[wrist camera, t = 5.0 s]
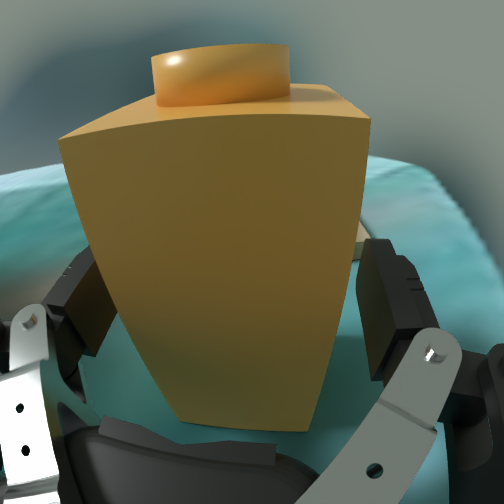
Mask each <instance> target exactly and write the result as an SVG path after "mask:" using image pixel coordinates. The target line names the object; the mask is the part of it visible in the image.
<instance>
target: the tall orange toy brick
mask: <svg viewBox="0 0 504 504" xmlns="http://www.w3.org/2000/svg"><path fill="white" fill-rule="evenodd" d="M151 59H152V67H153V78H154V86H155V94H154V95H152V96H149V97H147V98H144V99H142V100H139V101H137V102H134V103H132V104H129V105H127V106H125V107H122V108H120V109H118V110H116V111H114V112H111V113H109V114H107V115H105V116H103V117H101V118H98V119H96V120H94V121H92V122H90V123H88V124H86V125H84V126H82V127H80V128H78V129H76V130H75V131H73V132H71V133H69V134H67V135H65V136H63V137H62V138H60V139H58V145H59V149H60V153H61V157H62V160H63V164H64V168H65V172H66V175H67V179H68V182H69V186H70V189H71V192H72V196H73V199H74V202H75V205H76V208H77V211H78V214H79V217H80V220H81V223H82V226H83V229H84V231H85V234H86V237H87V240H88V242H89V245H90V248H91V250H92V253H93V255H94V258H95V260H96V263H97V265H98V268H99V270H100V273H101V275H102V277H103V280H104V282H105V284H106V287H107V289H108V291H109V294H110V296H111V298H112V300H113V302H114V304H115V307H116V309H117V311H118V313H119V315H120V317H121V319H122V321H123V323H124V325H125V327H126V329H127V331H128V333H129V335H130V337H131V339H132V341H133V343H134V345H135V347H136V349H137V351H138V352H139V354H140V356H141V358H142V360H143V362H144V363H145V365H146V367H147V369H148V371H149V372H150V374H151V376H152V378H153V379H154V381H155V383H156V384H157V386H158V388H159V389H160V391H161V393H162V394H163V396H164V398H165V399H166V401H167V402H168V404H169V406H170V407H171V409H172V410H173V412H174V413H175V415H176V416H177V418H178V420H179V421H182V422H188V423H194V424H202V425H209V426H217V427H226V428H237V429H249V430H265V431H297V432H308V429H309V426H310V423H311V420H312V417H313V414H314V411H315V408H316V405H317V401H318V398H319V395H320V392H321V388H322V385H323V381H324V378H325V375H326V371H327V368H328V364H329V360H330V357H331V353H332V349H333V345H334V341H335V337H336V333H337V329H338V325H339V321H340V317H341V313H342V308H343V304H344V299H345V295H346V290H347V285H348V281H349V276H350V271H351V265H352V260H353V255H354V249H355V244H356V238H357V232H358V226H359V219H360V213H361V206H362V199H363V192H364V184H365V176H366V167H367V158H368V148H369V136H370V124H371V118H369V117H368V116H367V115H366V114H364V113H363V112H362V111H360V110H359V109H358V108H357V107H355V106H354V105H352V104H351V103H350V102H349V101H347V100H346V99H345V98H343V97H342V96H340V95H339V94H337V93H336V92H335V91H333V90H332V89H330V88H329V87H328V86H326V85H315V84H290V62H289V46H288V45H280V44H235V45H219V46H209V47H200V48H193V49H187V50H180V51H175V52H170V53H165V54H160V55H157V56H154V57H152V58H151Z"/></svg>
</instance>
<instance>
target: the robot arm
mask: <svg viewBox="0 0 504 504" xmlns="http://www.w3.org/2000/svg"><path fill="white" fill-rule="evenodd" d="M356 296H357V301H358V306H359V311H360V317H361V322H362V327H363V333H364V339H365V345H366V351H367V357H368V363H369V370H370V377H371V381H382V380H383V385H384V391H383V392H382V394H381V395H380V397H379V398H378V400H377V401H376V403H375V404H374V406H373V407H372V409H371V410H370V412H369V413H368V415H367V416H366V418H365V419H364V420H363V422H362V423H361V425H360V426H359V427H358V429H357V430H356V432H355V433H354V434H353V436H352V437H351V438H350V440H349V441H348V442H347V443H346V445H345V446H344V447H343V449H342V450H341V451H340V452H339V454H338V455H337V456H336V457H335V459H334V460H333V461H332V462H331V464H330V465H329V466H328V467H327V468H326V469H325V471H324V472H323V473H322V474H321V475H319V474H318V473H317V472H316V471H314V470H313V469H311V468H310V467H308V466H307V465H305V464H303V463H302V462H300V461H298V460H296V459H293V458H291V457H288V456H285V455H282V454H278V453H276V445H277V444H266V443H251V442H239V441H221V442H211V443H200V444H185V445H183V444H177V443H175V442H173V441H170V440H168V439H166V438H164V437H162V436H160V435H158V434H156V433H154V432H152V431H150V430H148V429H146V428H144V427H142V426H140V425H137V424H133V423H129V422H125V421H121V420H118V419H114V418H111V417H107V416H103V419H102V422H101V420H100V419H99V417H98V416H97V414H96V412H95V410H94V407H93V404H92V400H91V396H90V392H89V389H88V385H87V381H86V376H85V372H84V368H83V364H82V362H81V361H80V358H81V356H82V354H83V355H87V356H92V357H96V355H97V352H98V350H99V348H100V346H101V344H102V342H103V340H104V338H105V336H106V334H107V332H108V330H109V328H110V326H111V324H112V322H113V320H114V318H115V316H116V314H117V312H118V311H117V309H116V307H115V304H114V302H113V300H112V298H111V296H110V294H109V291H108V289H107V287H106V284H105V282H104V280H103V277H102V275H101V273H100V270H99V268H98V265H97V263H96V260H95V258H94V255H93V253H92V250H91V248H90V245H89V246H88V247H87V248H86V249H84V250H83V251H82V252H81V253H79V254H78V255H77V256H76V257H75V258H74V259H73V261H72V262H71V263H70V265H69V268H67V269H66V270H65V271H64V273H63V276H61V277H60V278H59V279H58V281H57V282H56V283H55V285H54V286H53V288H52V289H51V290H50V292H49V293H48V295H47V296H46V297H45V299H44V300H43V302H42V303H41V304H31V305H28V306H26V307H24V308H23V309H21V310H20V311H19V312H18V313H17V314H16V315H15V317H14V319H13V320H12V321H5V322H2V321H1V320H0V504H398V503H399V502H400V500H401V499H402V497H403V496H404V494H405V492H406V491H407V489H408V488H409V486H410V485H411V483H412V481H413V480H414V478H415V476H416V475H417V473H418V471H419V469H420V468H421V466H422V464H423V462H424V461H425V459H426V457H427V455H428V453H429V451H430V449H431V447H432V445H433V443H434V441H435V439H436V436H437V430H436V429H434V427H435V424H436V422H442V423H444V431H445V439H446V449H447V460H448V474H449V504H504V343H501V344H497V345H495V346H494V347H492V349H491V350H490V351H489V353H488V354H487V355H484V354H479V353H474V352H470V351H465V350H462V349H461V347H460V345H459V343H458V341H457V340H456V339H455V338H454V337H453V336H452V335H451V334H450V333H448V332H447V331H445V330H442V329H440V327H439V324H438V322H437V319H436V316H435V314H434V311H433V309H432V306H431V304H430V301H429V299H428V296H427V294H426V291H424V287H423V284H422V282H421V281H420V277H419V275H418V273H417V271H416V268H415V266H414V265H413V264H412V263H411V262H410V261H409V260H408V259H407V258H406V257H405V256H403V255H396V253H395V250H394V248H393V246H392V243H391V241H390V240H389V239H374V238H366V239H365V241H364V244H363V249H362V254H361V259H360V263H359V268H358V273H357V278H356ZM487 416H488V417H487ZM488 419H489V422H488ZM489 424H490V427H489ZM490 429H491V433H490ZM491 435H492V439H491ZM492 441H493V446H492ZM3 463H4V467H5V472H6V474H5V473H4V472H2V471H1V470H2V466H3Z"/></svg>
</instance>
